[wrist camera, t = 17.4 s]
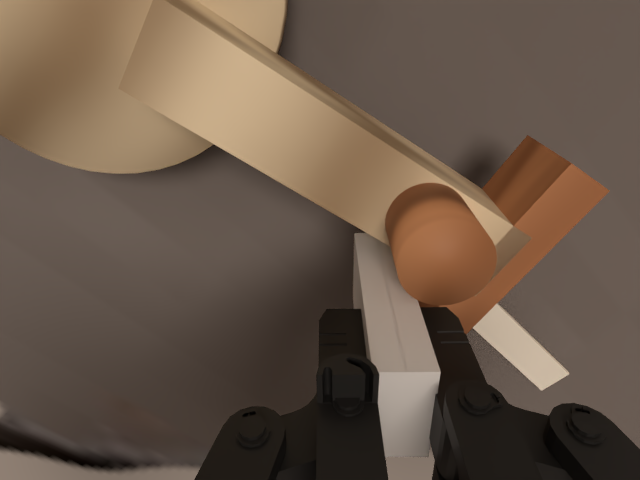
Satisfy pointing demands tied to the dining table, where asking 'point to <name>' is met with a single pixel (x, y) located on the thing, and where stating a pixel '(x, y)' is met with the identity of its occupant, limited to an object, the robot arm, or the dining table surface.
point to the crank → (273, 135)
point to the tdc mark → (520, 348)
